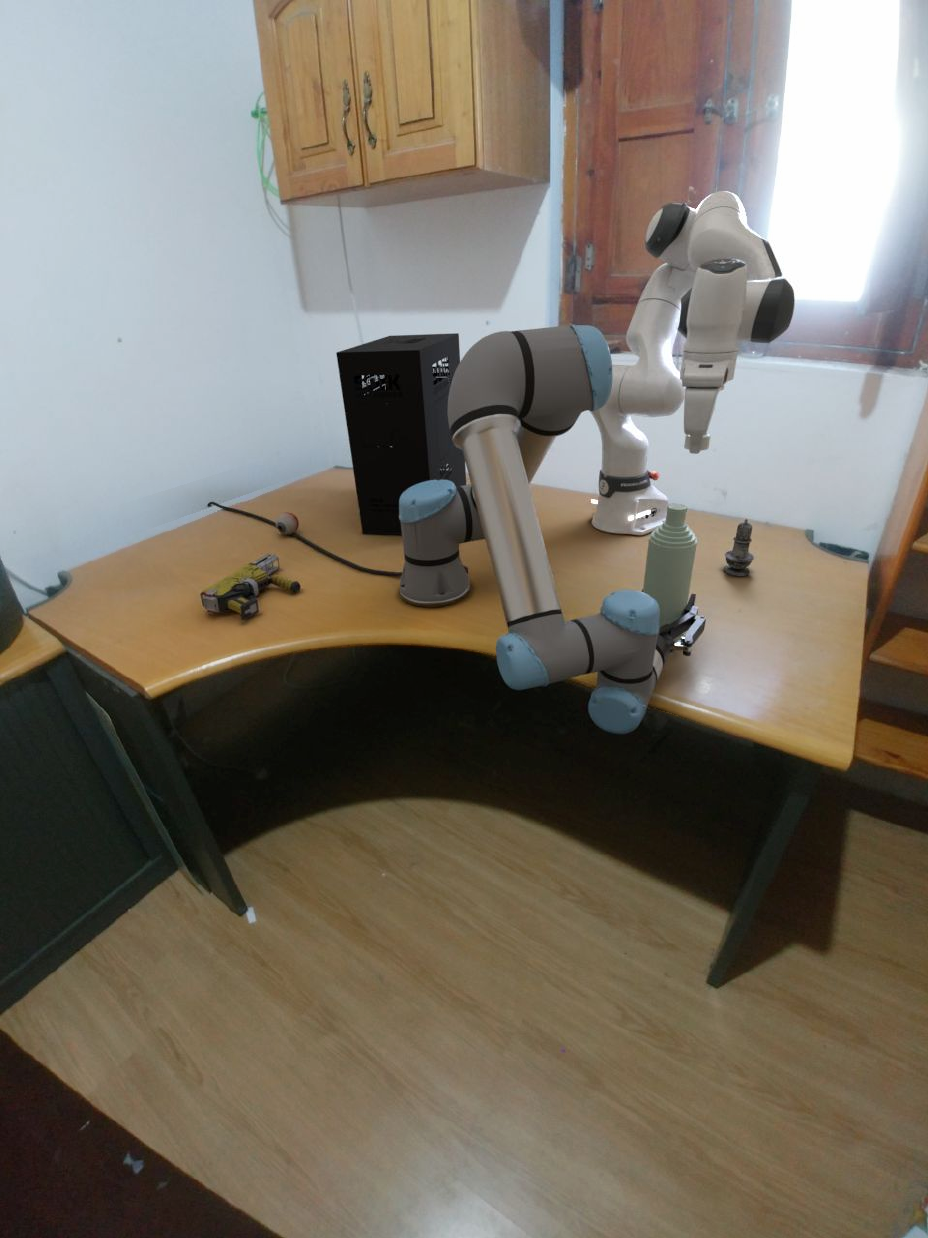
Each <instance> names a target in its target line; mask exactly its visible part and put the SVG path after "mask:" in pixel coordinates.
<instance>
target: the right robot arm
mask: <svg viewBox="0 0 928 1238" xmlns="http://www.w3.org/2000/svg"><path fill="white" fill-rule="evenodd" d="M687 204H688V203H687V202H682V203H678V202H669V203H667V204H665V205H662V206H661V207H660V208H659V210H658V211H657V212H656V213H655V214H654V215H653V217H652V218H651V220H650V222H649V224H648V227H647V230H646V233H645V240H644V246H645V250H646V251H647V253H649V254H650V255H651V256H652V257H653V258H654V259H660V260H661V262H663V264H661V265H659V266H658V267H657V268H656V269H655V270H654V271H653V273H652V274H651V276H650V278H649V279H648V281H647V283H646V285H645V287H644V288H643V290H642V292H641V295H640V296H639V299H638V302H637V305H636V307H635V310H634V313H633V315H632V318H631V321H630V323H629V326H628V328H627V331H626V337H625V338H626V345H627V347H628V349H629V350H630V351H631V353H633V354H634V355H635V356H637V357H638V361H637V363H636V364H634V365H627V364H625V365H624V364H612V374H613V380H612V388H611V393H610V396H609V399H608V401H607V403H606V404H605V405H604V406H603V407H602V408H600V409H596V410H595V411H590V410H588V411H589V412H590V414H591V415H592V417H593V418H594V421H595V423H596V425H597V426H598V430H599V433H600V438H601V468H600V470H599V474H598V492H599V493H598V498H597V499H592V498H591V499H590V501H591V502H590V503H591V504H595V505H596V507H595V511H594V514H593V517H592V520H591V525H592V526H593V527H594V528H595V529H597V530H599V531H601V532H605V533H611V534H623V535H625V534H626V535H632V536H633V535H634V536H645V535H646V534H650V533H652V532H653V531H654V530H655V529H656V528H657V527H659V526H660V525H661V524H663V522H664V521H666V515H667V506H668V505H669V504H670V503H669V502H670V501H669V498H668V497H667V496H666V495H665V494H664V493H663V492H661V491H660V490H659V489H658V488H656V487H655V486H654V485H652V483H651V480H653V481H658V479H659V478H660V473H659V472H657V471H654V470H651V471H649V470H648V469H647V466H648V458H649V457H648V455H649V446H650V443H649V440H648V437H647V436H646V434H645V433H644V432H642V431H641V430H639V429H638V428H637V427H636V425H635V424H634V422H633V419H632V416H633V417H641V418H642V417H643V418H662V417H669V416H673V415H674V414H675V413H676V412H678V410H679V409H680V408H681V406H682V404H683V402H684V404H683V433H684V434H685V435H686V434H687V435H690V450H688V451H689V454H693V455H696V454H700V452H701V451H700V449H701V443H702V438H703V435H705V434H706V433H708V430H709V427H710V424H711V421H712V418H713V415H714V412H715V409H716V403H717V398H718V395H719V393H720V392H721V391H724V390H725V385H726V384H727V383H728V382H730V381H733V379H734V378H735V371H736V365H737V360H738V353H739V343H743V342H744V343H749V342H750V343H758V344H770V343H772V342H773V341H775V340H776V339H778V338H780V337H781V335H783V334H784V333H785V332H786V331H787V330H788V329H789V327H790V325H791V323H792V320H793V317H794V312H795V307H796V306H795V305H796V300H795V290H794V288H793V286H792V285H791V283H790V282H789V281H788V280H787V278H786V277H785V276H784V274H783V272H782V269H781V267H780V265H779V262H778V260H777V257H776V255H775V253H774V250H773V249H772V246H771V245H770V244H771V243H770V242H769V240H767V239H766V238H764V237H762V236H760V235H759V234H757V233H756V232H755V231H753V230H752V229H751V228H750V227H749V226H748V223H747V222H748V221H747V216H746V212H745V208H744V206H743V203H742V202H741V200H740V198H739V197H738V196H737V195H736V194H734V193H733V192H732V191H731V192H730V191H727V190H720V191H716V192H713V193H711V194H709V195H708V196H706V197H705V198H704V199H703V200H702V201H701V202H700V203H699V205H698V206H697V208H696V209H695V208H692V207H690V206H689V205H687ZM678 332H679V333H680V334H681V335H682V336H683V337H684V338H685V343H684V345H683V348H682V356H681V364H680V370H678V369H677V368H676V366H675V363H674V360H673V349H674V345H675V341H676V338H677V335H678Z"/></svg>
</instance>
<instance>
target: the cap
mask: <svg viewBox="0 0 928 1238" xmlns="http://www.w3.org/2000/svg"><path fill="white" fill-rule="evenodd" d="M710 442H711V434H710V433H708V432H707V433H706V434H705V435H703V438H702V443H701V449H700V452H701V451H707V450H709V448H710ZM683 449H685V450H688V451H689V450H690V435H687V434H685V437H684V445H683Z"/></svg>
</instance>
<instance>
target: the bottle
mask: <svg viewBox="0 0 928 1238" xmlns="http://www.w3.org/2000/svg"><path fill="white" fill-rule="evenodd" d="M687 512H688V506H686V505H685V504H682V503H669V505H668V506H667V515H666V521H664V522H663V524H661V525H660V526H659V527H657V528H656V529H655V530H654V531H652V532H650V534H649V536H648V543H647V552H646V561H645V569H644V578H643V586H642V587H643V588H642V589H643V593H646V594H648V595H650V596H651V598H654V599H655V600H656V601H657V603H658V605H659V608H660V622H659V627H662V626H663V625H665V624H671V623H672V622H674V621H676V620H677V619H679V618H680V617H682V616H684V613H685V608H686V606H687V604H688V601H689V596H690V595H689V594H690V589H691V582H692V575H693V570H694V563H695V558H696V557H695V556H696V550H697V544H698V539H697V535H696V534H695V533H694V531H693V530H692V528H691V527H690V526H689V525H688V524H687V522H686V517H687ZM681 637H683V634H681V635H680V636H678V637H676V638H675V639H673V640H674V642H678V641H679V640H681Z"/></svg>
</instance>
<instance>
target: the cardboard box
mask: <svg viewBox="0 0 928 1238" xmlns="http://www.w3.org/2000/svg"><path fill="white" fill-rule="evenodd" d="M460 353H461V352H460V334H459V332H458V333H457V332H455V333H453V332H452V333H430V334H427V333H426V334H425V333H424V334H403V335H401V334H400V335H387V336H384V337H381V338H378V339H375V340H372V341H368V342H365V343H362V344H359V345H355V346H353V347H350V348H346V349H343V350H340V351H337V352H335V354H336V359H337V360H336V361H337V367H338V374H339V381H340V388H341V395H342V402H343V409H344V415H345V423H346V429H347V436H348V442H349V449H350V457H351V463H352V471H353V475H354V476H353V478H354V484H355V490H356V491H355V492H356V498H357V504H358V511H359V520H360V525H361V526H360V527H361V532H362V534H371V535H396V536H402V530H401V521H400V519H399V499H400V497H401V495H402V493H403V492H404V491H406V490H407V489H408V488H410V487H411V486H414V485H416V484H418V483H422V482H425V481H430V480H437V481H438V480H441V479H443V480H449V481H452V482H453V483H454V484H455V486H456V487H458V486H463V485H467V471H466V469H467V467H466V462H465V458H464V454H463V450H461V449H459V448H457V447H456V446H455V445H454V444H453V441H452V436H451V432H450V428H449V422H448V397H449V391H450V386H451V383H452V379H453V376H454V374H455V371H456V369H457V367H458V365H459V363H460V361H461V354H460ZM443 360H444V361H443ZM439 362H440V363H441V364H439ZM434 365H435V366H434Z"/></svg>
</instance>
